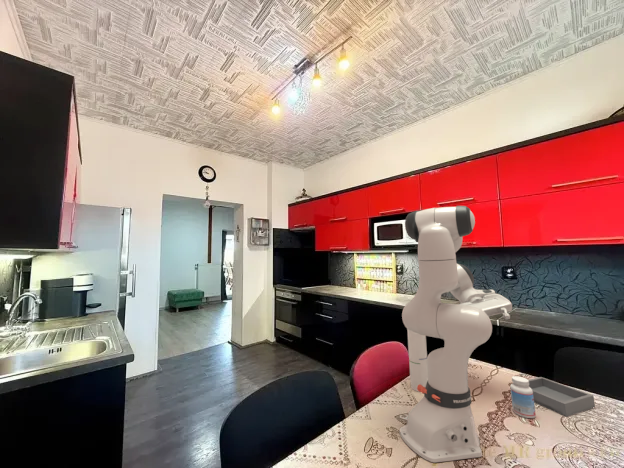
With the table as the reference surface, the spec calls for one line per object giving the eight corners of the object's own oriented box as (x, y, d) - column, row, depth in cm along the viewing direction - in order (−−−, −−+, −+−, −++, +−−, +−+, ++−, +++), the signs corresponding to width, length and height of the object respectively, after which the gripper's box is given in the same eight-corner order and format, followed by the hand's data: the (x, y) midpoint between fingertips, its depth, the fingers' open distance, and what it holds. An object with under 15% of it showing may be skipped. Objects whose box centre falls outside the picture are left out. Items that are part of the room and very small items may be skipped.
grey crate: (566, 416, 85) (564, 404, 85) (515, 394, 100) (514, 383, 100) (595, 407, 90) (593, 395, 90) (542, 387, 105) (540, 376, 105)
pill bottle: (540, 420, 83) (536, 383, 85) (519, 418, 84) (515, 382, 86) (528, 409, 89) (524, 375, 90) (509, 407, 90) (505, 374, 92)
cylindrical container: (432, 392, 102) (427, 327, 105) (414, 392, 102) (410, 328, 105) (424, 383, 109) (420, 323, 112) (408, 384, 109) (404, 324, 112)
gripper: (447, 300, 109) (466, 320, 96) (496, 288, 107) (522, 307, 94) (449, 312, 111) (468, 334, 97) (497, 301, 109) (523, 321, 96)
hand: (495, 320), depth 96 cm, fingers open, 8 cm apart
